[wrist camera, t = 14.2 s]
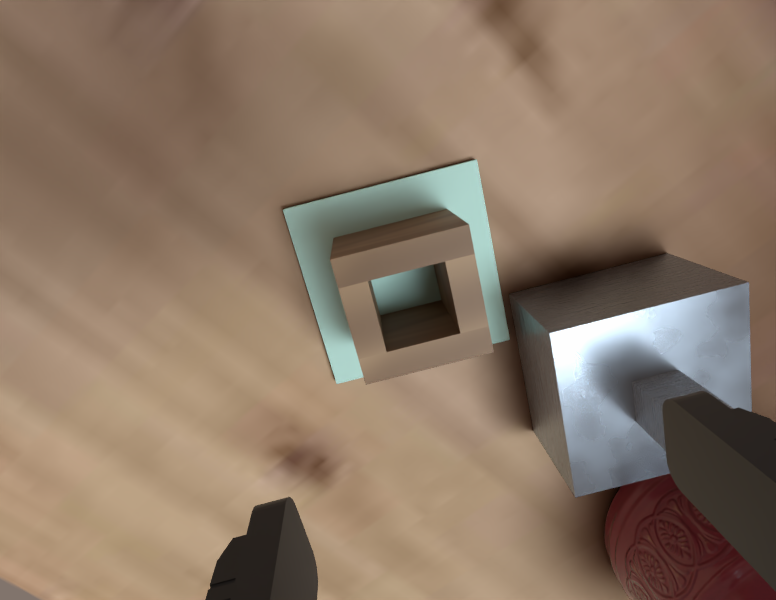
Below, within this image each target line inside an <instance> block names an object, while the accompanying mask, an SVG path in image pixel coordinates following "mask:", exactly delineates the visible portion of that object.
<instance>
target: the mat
mask: <svg viewBox="0 0 776 600" xmlns="http://www.w3.org/2000/svg"><path fill="white" fill-rule="evenodd" d="M445 209H448V210H450V211H451V212H452V213H454V214H455V215H457V216H458V217H459V218H461V219H462V220H464V221H465V222H467V223H468V224H469V226H470V232H471V237H472V242H473V247H474V252H475V257H476V263H477V268H478V273H479V278H480V283H481V288H482V294H483V299H484V304H485V309H486V314H487V320H488V325H489V330H490V335H491V340H492V344H495V343H499V342H502V341H506V340H510V338H509V332H508V327H507V321H506V316H505V310H504V305H503V300H502V294H501V289H500V283H499V278H498V272H497V267H496V261H495V256H494V251H493V245H492V240H491V234H490V229H489V223H488V218H487V212H486V207H485V202H484V196H483V191H482V185H481V180H480V174H479V169H478V163H477V160H476V159H475V160H471V161H467V162H463V163H459V164H455V165H451V166H447V167H444V168H440V169H436V170H432V171H428V172H424V173H420V174H417V175H413V176H409V177H405V178H401V179H397V180H393V181H389V182H386V183H382V184H378V185H374V186H370V187H366V188H362V189H358V190H355V191H351V192H347V193H343V194H339V195H335V196H331V197H328V198H324V199H320V200H316V201H312V202H308V203H304V204H300V205H297V206H293V207H289V208H285V209H283V212H284V215H285V219H286V222H287V225H288V228H289V232H290V235H291V238H292V241H293V244H294V248H295V251H296V254H297V257H298V261H299V264H300V267H301V270H302V273H303V277H304V280H305V283H306V286H307V290H308V293H309V296H310V299H311V303H312V306H313V309H314V312H315V315H316V319H317V322H318V325H319V328H320V332H321V335H322V338H323V341H324V345H325V348H326V351H327V354H328V357H329V361H330V364H331V367H332V370H333V374H334V377H335V380H336V383H337V384H339V383H343V382H347V381H350V380H354V379H358V378H362V377H363V373H362V370H361V367H360V363H359V360H358V356H357V353H356V349H355V346H354V342H353V339H352V335H351V332H350V328H349V325H348V321H347V318H346V314H345V311H344V307H343V304H342V300H341V297H340V293H339V290H338V286H337V283H336V279H335V276H334V272H333V269H332V265H331V262H330V256H331V250H332V244H333V238H335V237H339V236H343V235H347V234H351V233H354V232H358V231H362V230H366V229H370V228H374V227H378V226H382V225H386V224H390V223H394V222H398V221H402V220H405V219H409V218H413V217H417V216H421V215H425V214H429V213H433V212H437V211H441V210H445ZM371 282H372V286H373V290H374V294H375V297H376V301H377V305H378V309H379V313H380V315H384V314H388V313H392V312H396V311H400V310H404V309H407V308H411V307H415V306H419V305H423V304H427V303H431V302H435V301H439V300H441V296H440V292H439V287H438V283H437V278H436V274H435V269H434V265H429V266H425V267H421V268H417V269H414V270H410V271H406V272H402V273H398V274H394V275H390V276H386V277H382V278H378V279H374V280H371Z"/></svg>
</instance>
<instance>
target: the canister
mask: <svg viewBox="0 0 776 600" xmlns="http://www.w3.org/2000/svg"><path fill="white" fill-rule="evenodd" d="M604 538H605V546H606V550H607V553H608V555H609V558H610V560H611V565H612V568H613V571H614V573H615V575H616V577H617V579H618V581H619V582H620V584H621V585H622V587H623V589H624V591H625V593H626V594H627V595H628V597H629V598H630V599H631V600H776V591H775V590H774V589H773V588H772V587H771V586H770V585H769V584H768V583H767V582H766V581H765V580H764V579H763V578H762V577H761V576H760V575H759V573H758V572H757V571H756V570H755V569H754V568H753V567H752V566H751V565H750V564H749V563H748V562H747V561H746V560H745V559H744V558H743V557H742V556H741V554H740V553H739V552H738V551H737V550H736V549H735V548H734V547H733V546H732V545H731V544H730V543H729V542H728V541H727V540H726V539H725V538H724V536H723V535H722V534H721V533H720V532H719V531H718V530H717V529H716V528H715V527H714V526H713V525H712V524H711V523H710V522H709V521H708V520H707V518H706V517H705V516H704V515H703V514H702V513H701V512H700V511H699V510H698V509H697V508H696V507H695V506H694V505H693V504H692V503H691V502H690V500H689V499H688V498H687V497H686V496H685V495H684V494H683V493H682V492H681V491H680V490H679V488H678V487H677V485H676V484H675V482H674V480H673V478H672V476H671V474H666V475H662V476H658V477H654V478H650V479H646V480H642V481H638V482H634V483H630V484H627V485H623V486H621V487H620V489H619V490H618V492H617V494H616V495H615V497H614V499H613V501H612V503H611V505H610V508H609V510H608V513H607V517H606V522H605V529H604Z"/></svg>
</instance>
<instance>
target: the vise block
mask: <svg viewBox="0 0 776 600" xmlns="http://www.w3.org/2000/svg"><path fill="white" fill-rule="evenodd" d="M509 297H510V302H511V308H512V314H513V319H514V325H515V330H516V336H517V341H518V347H519V353H520V358H521V364H522V369H523V375H524V381H525V386H526V392H527V397H528V403H529V409H530V414H531V420H532V425H533V431H534V433H535V434H536V436H537V438H538V439H539V441H540V442H541V444H542V445H543V447H544V449H545V450H546V452H547V453H548V455H549V457H550V458H551V460H552V461H553V463H554V465H555V466H556V468H557V469H558V471H559V472H560V474H561V476H562V477H563V479H564V480H565V482H566V484H567V485H568V487H569V488H570V490H571V491H572V493H573V495H574V496H575V498H576V497H579V496H583V495H587V494H591V493H595V492H599V491H603V490H607V489H611V488H615V487H619V486H623V485H627V484H630V483H634V482H638V481H642V480H646V479H650V478H654V477H658V476H662V475H666V474H670V471H669V469H668V465H667V460H666V448H665V436H664V424H663V412H662V407H663V403H664V401H665V400H667V399H671V398H675V397H678V396H682V395H686V394H690V393H694V392H698V391H705V392H707V393H709V394H711V395H712V396H713V397H715V398H716V399H718V400H719V401H721V402H722V403H723V404H725V405H726V406H728V407H729V408H730V409H734V408H738V407H739V408H742V409H745V410H747V411H750V412H752V404H751V358H750V311H749V282H747V281H744V280H741V279H738V278H735V277H733V276H730V275H727V274H724V273H721V272H719V271H716V270H713V269H710V268H707V267H705V266H702V265H699V264H696V263H693V262H691V261H688V260H685V259H682V258H679V257H677V256H674V255H671V254H668V253H667V254H663V255H659V256H655V257H651V258H647V259H643V260H639V261H635V262H631V263H628V264H624V265H620V266H616V267H612V268H608V269H604V270H600V271H596V272H593V273H589V274H585V275H581V276H577V277H573V278H569V279H565V280H561V281H558V282H554V283H550V284H546V285H542V286H538V287H534V288H530V289H526V290H523V291H519V292H515V293H511V294H509Z"/></svg>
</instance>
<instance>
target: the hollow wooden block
mask: <svg viewBox="0 0 776 600" xmlns="http://www.w3.org/2000/svg"><path fill="white" fill-rule="evenodd" d="M330 262H331V265H332V269H333V272H334V276H335V279H336V283H337V286H338V290H339V293H340V297H341V300H342V304H343V307H344V311H345V314H346V318H347V321H348V325H349V328H350V332H351V335H352V339H353V342H354V346H355V349H356V353H357V356H358V360H359V363H360V367H361V370H362V373H363V377H364V380H365V384H366V385H367V384H371V383H374V382H378V381H382V380H386V379H390V378H394V377H398V376H402V375H406V374H410V373H414V372H418V371H422V370H426V369H430V368H434V367H438V366H441V365H445V364H449V363H453V362H457V361H461V360H465V359H469V358H473V357H477V356H481V355H485V354H489V353H493V352H494V351H493V345H492V340H491V335H490V330H489V325H488V320H487V314H486V309H485V304H484V299H483V294H482V288H481V283H480V278H479V273H478V268H477V263H476V257H475V252H474V247H473V242H472V237H471V232H470V226H469V224H468V223H467V222H465V221H464V220H462V219H461V218H459V217H458V216H457V215H455V214H454V213H452V212H451V211H450V210H448V209H445V210H441V211H437V212H433V213H429V214H425V215H421V216H417V217H413V218H409V219H405V220H402V221H398V222H394V223H390V224H386V225H382V226H378V227H374V228H370V229H366V230H362V231H358V232H354V233H351V234H347V235H343V236H339V237H335V238H333V244H332V250H331V256H330ZM429 265H434V269H435V274H436V278H437V283H438V287H439V292H440V296H441V300H439V301H435V302H431V303H427V304H423V305H419V306H415V307H411V308H407V309H404V310H400V311H396V312H392V313H388V314H384V315H380V313H379V309H378V305H377V301H376V297H375V294H374V290H373V286H372V282H371V280H374V279H378V278H382V277H386V276H390V275H394V274H398V273H402V272H406V271H410V270H414V269H417V268H421V267H425V266H429Z"/></svg>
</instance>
